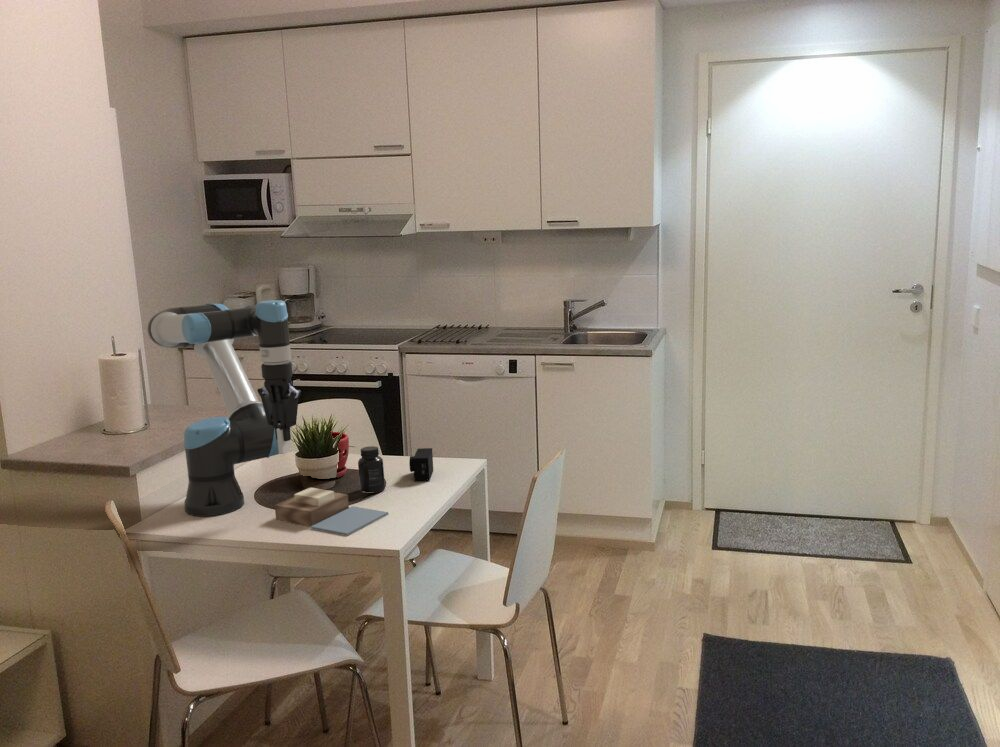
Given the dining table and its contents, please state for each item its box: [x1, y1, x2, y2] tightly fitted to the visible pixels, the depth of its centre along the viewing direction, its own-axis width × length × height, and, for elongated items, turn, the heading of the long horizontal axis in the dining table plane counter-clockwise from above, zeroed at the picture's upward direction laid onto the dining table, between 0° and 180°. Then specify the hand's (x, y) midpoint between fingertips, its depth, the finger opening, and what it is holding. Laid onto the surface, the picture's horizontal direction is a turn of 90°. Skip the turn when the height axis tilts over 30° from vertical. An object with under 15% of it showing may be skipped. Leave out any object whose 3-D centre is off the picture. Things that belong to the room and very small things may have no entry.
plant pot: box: [331, 431, 350, 478], centre depth 261 cm, size 13×13×12 cm
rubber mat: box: [310, 505, 389, 537], centre depth 222 cm, size 12×16×1 cm
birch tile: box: [293, 487, 335, 506], centre depth 227 cm, size 8×6×2 cm
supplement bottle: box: [357, 445, 386, 494], centre depth 245 cm, size 7×7×12 cm
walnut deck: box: [274, 491, 350, 528], centre depth 228 cm, size 12×14×4 cm
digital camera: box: [408, 447, 434, 483], centre depth 257 cm, size 10×5×7 cm, turn 178°
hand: (284, 452), depth 230 cm, fingers closed
